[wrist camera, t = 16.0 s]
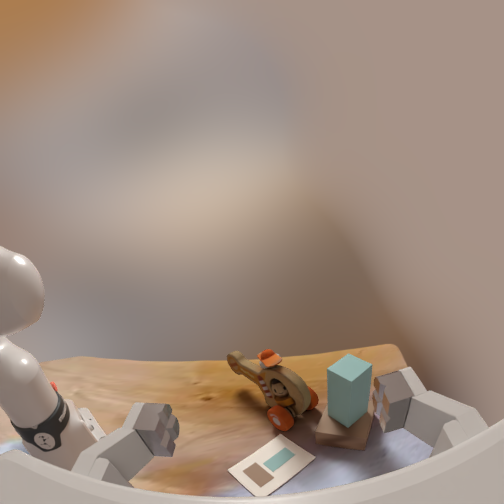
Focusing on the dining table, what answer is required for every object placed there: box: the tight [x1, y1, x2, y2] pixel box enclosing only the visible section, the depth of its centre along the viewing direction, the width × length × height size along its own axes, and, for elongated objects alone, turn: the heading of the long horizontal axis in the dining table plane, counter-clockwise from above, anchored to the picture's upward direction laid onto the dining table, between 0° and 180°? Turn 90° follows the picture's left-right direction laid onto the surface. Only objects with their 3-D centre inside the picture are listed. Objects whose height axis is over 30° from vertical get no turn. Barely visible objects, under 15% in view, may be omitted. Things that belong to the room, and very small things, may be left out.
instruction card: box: [228, 434, 316, 497], centre depth 34 cm, size 8×11×1 cm
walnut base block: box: [315, 400, 375, 450], centre depth 38 cm, size 8×8×4 cm
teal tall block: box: [327, 354, 372, 428], centre depth 37 cm, size 4×4×10 cm
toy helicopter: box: [227, 349, 318, 431], centre depth 48 cm, size 8×21×14 cm, turn 40°
